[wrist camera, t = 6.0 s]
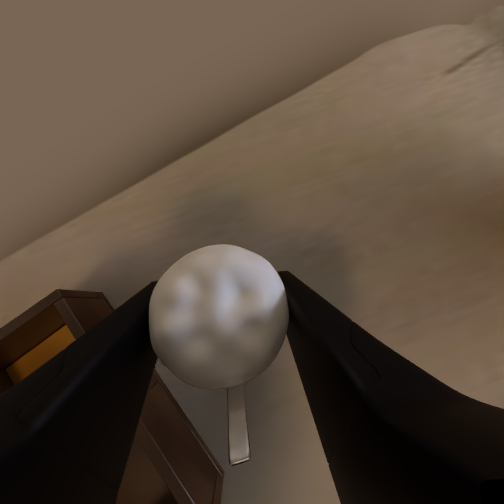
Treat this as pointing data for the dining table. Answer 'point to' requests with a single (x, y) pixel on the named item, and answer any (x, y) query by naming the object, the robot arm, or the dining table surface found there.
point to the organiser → (153, 413)
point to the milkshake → (220, 326)
